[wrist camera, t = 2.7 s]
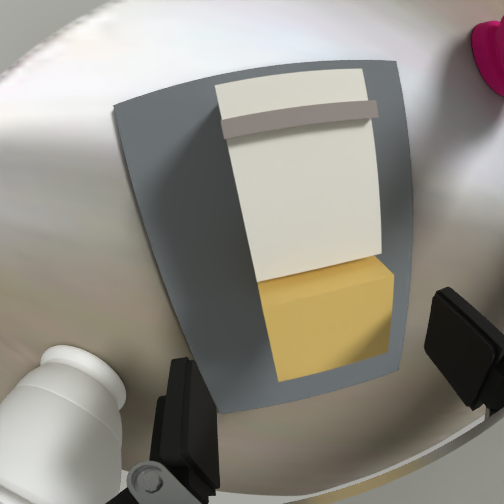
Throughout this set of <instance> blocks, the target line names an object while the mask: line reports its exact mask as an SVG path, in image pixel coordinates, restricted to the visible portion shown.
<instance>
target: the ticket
mask: <svg viewBox="0 0 504 504" xmlns="http://www.w3.org/2000/svg"><path fill="white" fill-rule="evenodd" d="M215 89H216V94H217V99H218V103H219V108H220V113H221V117H222V120H220V121H221V126H222V131H223V135H224V139H226V141H227V145H228V150H229V155H230V159H231V164H232V168H233V173H234V178H235V182H236V187H237V192H238V196H239V201H240V206H241V210H242V215H243V219H244V224H245V229H246V233H247V238H248V243H249V247H250V252H251V256H252V261H253V266H254V270H255V275H256V280H257V282H259V281H264V280H268V279H273V278H278V277H282V276H287V275H291V274H296V273H300V272H305V271H309V270H314V269H318V268H322V267H327V266H331V265H335V264H340V263H344V262H348V261H352V260H356V259H361V258H365V257H369V256H373V255H377V254H381V253H382V251H381V215H380V197H379V183H378V171H377V161H376V152H375V143H374V135H373V128H372V121H371V118H377V117H379V115H378V109H377V103H376V100H368V97H367V91H366V86H365V81H364V76H363V71H362V69H333V70H317V71H305V72H295V73H286V74H278V75H270V76H263V77H257V78H251V79H245V80H239V81H234V82H229V83H224V84H219V85H215Z"/></svg>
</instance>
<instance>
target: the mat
mask: <svg viewBox="0 0 504 504" xmlns="http://www.w3.org/2000/svg"><path fill="white" fill-rule="evenodd" d="M333 69H362V71H363V76H364V81H365V86H366V91H367V97H368V100H376V103H377V109H378V115H379V117H377V118H371V121H372V128H373V135H374V143H375V152H376V161H377V171H378V183H379V197H380V215H381V251H382V253H381V254H377V255H374V256H375V257H376V258H378V259H379V260H380V261H381V262H382V263H383V264H384V265H385V266H386V267H387V268H388V269H389V270H390V271H391V272H392V273H393V274H394V290H393V305H392V318H391V328H390V338H389V346H388V352H387V353H384V354H381V355H378V356H375V357H371V358H368V359H365V360H362V361H359V362H355V363H352V364H349V365H345V366H342V367H338V368H334V369H331V370H327V371H323V372H319V373H315V374H311V375H307V376H303V377H299V378H295V379H290V380H286V381H281V382H278V377H277V373H276V368H275V363H274V359H273V354H272V350H271V345H270V341H269V336H268V331H267V327H266V322H265V318H264V313H263V309H262V304H261V299H260V294H259V289H258V284H257V280H256V275H255V270H254V266H253V261H252V256H251V252H250V247H249V243H248V238H247V233H246V229H245V224H244V219H243V215H242V210H241V206H240V201H239V196H238V192H237V187H236V182H235V178H234V173H233V168H232V164H231V159H230V155H229V150H228V145H227V141H226V139H224V135H223V131H222V126H221V121H220V120H222V117H221V113H220V108H219V103H218V99H217V94H216V89H215V85H219V84H224V83H229V82H234V81H239V80H245V79H251V78H257V77H263V76H270V75H278V74H286V73H295V72H305V71H317V70H333ZM113 106H114V111H115V116H116V120H117V125H118V129H119V134H120V138H121V142H122V146H123V150H124V154H125V158H126V162H127V166H128V170H129V174H130V177H131V181H132V185H133V188H134V192H135V195H136V199H137V202H138V206H139V209H140V212H141V216H142V219H143V222H144V225H145V228H146V232H147V235H148V238H149V241H150V244H151V247H152V250H153V253H154V256H155V259H156V262H157V265H158V267H159V270H160V273H161V276H162V279H163V281H164V284H165V287H166V290H167V292H168V295H169V298H170V300H171V303H172V305H173V308H174V311H175V313H176V316H177V318H178V321H179V323H180V326H181V328H182V331H183V333H184V335H185V338H186V340H187V343H188V345H189V347H190V350H191V352H192V354H193V357H194V359H195V361H196V363H197V366H198V368H199V370H200V372H201V375H202V377H203V379H204V381H205V383H206V385H207V388H208V390H209V392H210V394H211V396H212V398H213V400H214V402H215V404H216V406H217V408H218V410H219V412H220V414H224V413H232V412H238V411H245V410H251V409H257V408H262V407H267V406H273V405H278V404H283V403H287V402H292V401H296V400H301V399H305V398H309V397H313V396H317V395H321V394H325V393H329V392H332V391H336V390H339V389H343V388H346V387H350V386H353V385H356V384H359V383H363V382H366V381H369V380H372V379H375V378H378V377H381V376H384V375H386V374H389V373H392V372H395V371H398V370H399V364H400V359H401V353H402V347H403V341H404V334H405V327H406V320H407V311H408V302H409V292H410V280H411V265H412V241H413V199H412V175H411V160H410V148H409V138H408V129H407V121H406V114H405V107H404V100H403V94H402V89H401V83H400V78H399V73H398V68H397V63H396V61H384V60H337V61H317V62H304V63H293V64H284V65H275V66H268V67H261V68H254V69H248V70H242V71H236V72H231V73H226V74H221V75H216V76H211V77H207V78H203V79H198V80H194V81H190V82H186V83H182V84H179V85H175V86H171V87H168V88H164V89H161V90H158V91H154V92H151V93H148V94H145V95H142V96H139V97H136V98H133V99H130V100H127V101H124V102H121V103H119V104H116V105H113Z"/></svg>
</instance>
